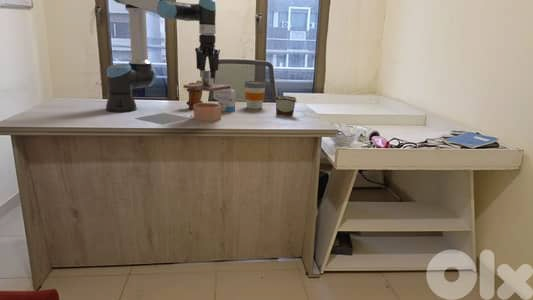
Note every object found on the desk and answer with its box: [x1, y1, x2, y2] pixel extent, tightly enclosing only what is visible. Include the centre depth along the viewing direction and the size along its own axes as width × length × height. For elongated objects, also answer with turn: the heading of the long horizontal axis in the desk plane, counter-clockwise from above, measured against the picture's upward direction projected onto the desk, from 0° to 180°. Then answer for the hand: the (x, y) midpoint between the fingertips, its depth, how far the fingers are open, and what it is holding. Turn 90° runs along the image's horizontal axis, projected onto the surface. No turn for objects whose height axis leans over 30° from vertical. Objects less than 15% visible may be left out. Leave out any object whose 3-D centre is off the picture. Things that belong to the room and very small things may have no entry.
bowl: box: [193, 102, 222, 122], centre depth 190 cm, size 13×13×7 cm
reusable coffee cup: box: [243, 80, 267, 110], centre depth 226 cm, size 12×13×15 cm
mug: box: [186, 80, 204, 110], centre depth 216 cm, size 15×8×15 cm, turn 168°
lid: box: [183, 70, 231, 92], centre depth 185 cm, size 16×16×8 cm
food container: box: [274, 95, 297, 117], centre depth 209 cm, size 12×6×10 cm, turn 65°
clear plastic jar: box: [217, 83, 236, 113], centre depth 213 cm, size 9×5×15 cm, turn 68°
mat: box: [133, 112, 191, 126], centre depth 186 cm, size 19×19×1 cm
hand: (207, 84), depth 186 cm, fingers closed on lid, 4 cm apart
